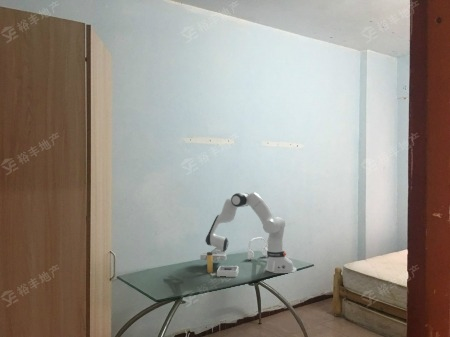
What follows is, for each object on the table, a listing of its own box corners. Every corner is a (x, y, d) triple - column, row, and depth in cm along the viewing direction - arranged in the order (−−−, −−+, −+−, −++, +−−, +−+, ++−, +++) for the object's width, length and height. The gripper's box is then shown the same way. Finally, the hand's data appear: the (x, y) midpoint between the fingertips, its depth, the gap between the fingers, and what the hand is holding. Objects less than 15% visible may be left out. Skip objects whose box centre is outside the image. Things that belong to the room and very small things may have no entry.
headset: (251, 260, 281) (250, 239, 282) (246, 259, 287) (245, 238, 288) (269, 257, 292) (269, 236, 292) (264, 255, 298) (263, 235, 298)
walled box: (238, 271, 250) (238, 266, 250) (236, 276, 237) (236, 271, 237) (220, 271, 252) (219, 265, 252) (216, 276, 239) (216, 270, 239)
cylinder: (213, 271, 252) (212, 251, 252) (212, 273, 248) (211, 253, 248) (207, 271, 252) (207, 251, 253) (206, 272, 248) (206, 253, 249)
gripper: (203, 250, 269) (197, 254, 255) (228, 251, 264) (223, 255, 250) (203, 258, 269) (197, 262, 255) (228, 259, 264) (223, 263, 250)
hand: (210, 259), depth 253 cm, fingers open, 8 cm apart
